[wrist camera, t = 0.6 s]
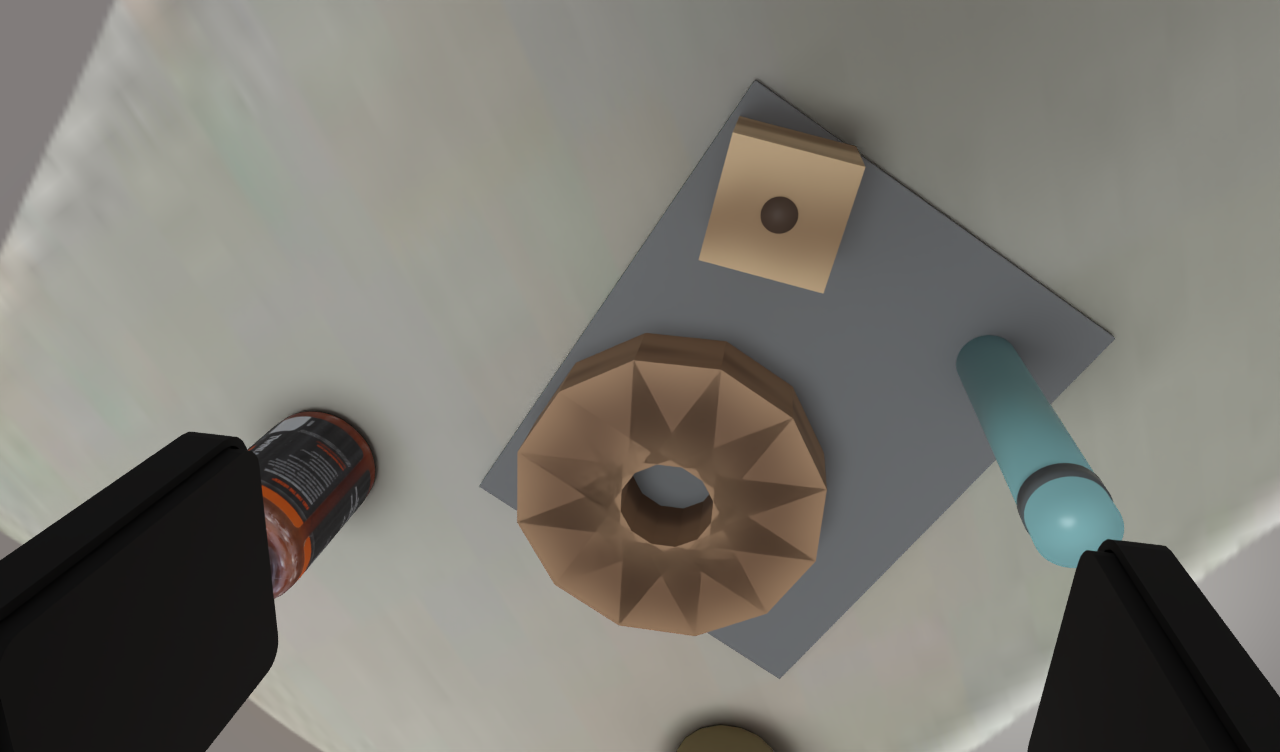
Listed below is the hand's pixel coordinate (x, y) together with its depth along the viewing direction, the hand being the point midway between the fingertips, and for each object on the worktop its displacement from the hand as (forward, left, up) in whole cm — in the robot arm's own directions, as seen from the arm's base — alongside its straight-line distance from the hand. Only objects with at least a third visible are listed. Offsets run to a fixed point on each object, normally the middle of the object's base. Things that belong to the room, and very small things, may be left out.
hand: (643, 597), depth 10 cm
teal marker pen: (+1, +14, -31) cm, 34 cm away
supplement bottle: (+25, -9, -32) cm, 42 cm away
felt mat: (+9, +8, -31) cm, 34 cm away
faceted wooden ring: (+14, +6, -31) cm, 35 cm away
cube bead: (0, +2, -31) cm, 31 cm away
